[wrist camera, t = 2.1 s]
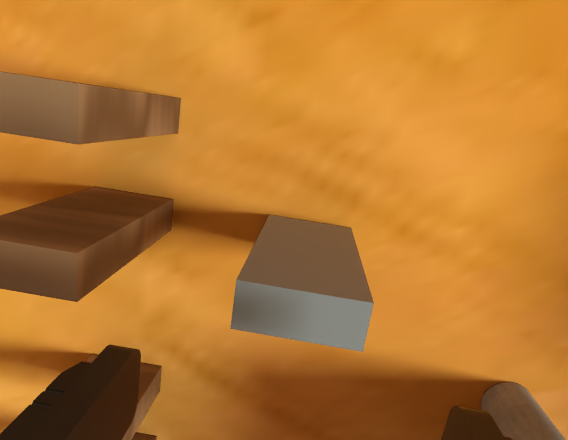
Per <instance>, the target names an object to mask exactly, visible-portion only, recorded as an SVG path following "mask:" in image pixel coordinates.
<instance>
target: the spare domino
mask: <svg viewBox="0 0 568 440" xmlns="http://www.w3.org/2000/svg"><path fill="white" fill-rule="evenodd" d="M373 304H374V303H373V299H372V296H371V293H370V289H369V286H368V283H367V279H366V276H365V273H364V269H363V266H362V263H361V259H360V256H359V253H358V249H357V246H356V243H355V239H354V236H353V233H352V229H351V228H349V227H343V226H337V225H331V224H325V223H318V222H312V221H306V220H300V219H294V218H287V217H281V216H275V215H269V216H268V218H267V220H266V222H265V224H264V226H263V228H262V230H261V232H260V234H259V236H258V238H257V240H256V242H255V244H254V246H253V248H252V250H251V252H250V254H249V256H248V258H247V260H246V262H245V264H244V266H243V268H242V270H241V272H240V274H239V276H238V278H237V280H236V288H235V296H234V304H233V312H232V321H231V329H236V330H241V331H247V332H253V333H258V334H264V335H270V336H276V337H281V338H287V339H293V340H298V341H304V342H310V343H316V344H321V345H327V346H333V347H338V348H344V349H350V350H356V351H361V352H363V349H364V344H365V340H366V335H367V331H368V326H369V322H370V317H371V313H372V308H373Z"/></svg>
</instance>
